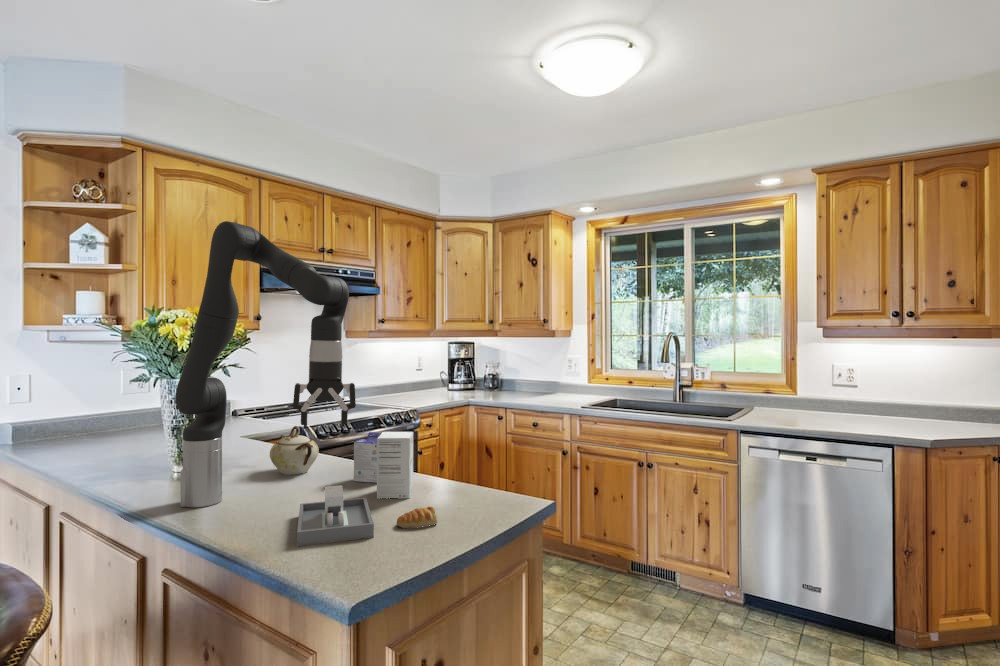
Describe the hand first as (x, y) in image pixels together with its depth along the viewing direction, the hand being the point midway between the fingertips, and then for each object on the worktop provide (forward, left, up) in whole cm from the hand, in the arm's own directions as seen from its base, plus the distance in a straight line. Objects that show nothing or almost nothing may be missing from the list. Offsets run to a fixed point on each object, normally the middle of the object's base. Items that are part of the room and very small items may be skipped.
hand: (324, 426), depth 130 cm
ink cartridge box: (+14, +33, -23) cm, 43 cm away
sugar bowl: (-9, +51, -23) cm, 57 cm away
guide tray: (+2, -4, -23) cm, 23 cm away
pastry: (+22, -8, -23) cm, 33 cm away
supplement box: (+19, +17, -23) cm, 35 cm away
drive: (+2, -4, -21) cm, 22 cm away
